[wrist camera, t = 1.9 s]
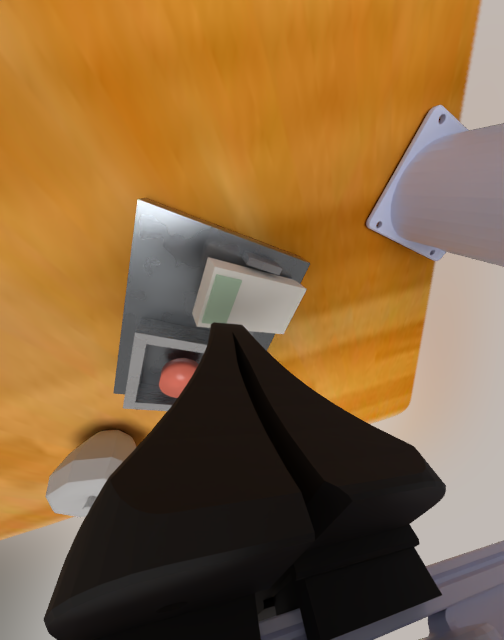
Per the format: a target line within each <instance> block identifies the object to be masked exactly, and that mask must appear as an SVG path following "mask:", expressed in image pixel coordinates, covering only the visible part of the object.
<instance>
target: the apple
mask: <svg viewBox="0 0 504 640" xmlns="http://www.w3.org/2000/svg"><path fill="white" fill-rule="evenodd" d="M135 448H136V445H135V442H134V440H133V438H132V437H131V436H130V435H128V434H126V433H124V432H122V431H120V430H106V431H100V432H98V433H96V434H95V435H93V436H92V437H90V438H89V439H88V440H86V441H85V442H83V443H82V444H81V445H80V446H78V447H77V448H76V449H75V450H73V451H72V452H71V453H70V454H69V455H68V456H67V457H66V458H65V459H64V460H63V462H62V463H61V464H60V465H59V466H58V467H57V468H56V470H55V471H54V472H53V473H52V474H51V475H50V478H49V483H48V488H47V492H46V498H47V500H48V502H49V504H50V506H51V508H52V510H53V511H54V512H55V513H59V514H64V515H70V516H76V517H85V516H87V514H88V512H89V510H90V508H91V506H92V505H93V503H94V501H95V499H96V498H97V496H98V494H99V493H100V491H101V489H102V488H103V486H104V484H105V483H106V481H107V479H108V478H109V476H110V475H111V474H112V473H113V472H114V471H115V470H116V469H117V468H118V467H119V466H120V464H121V463H122V462H123V461H124V460H125V459H126V458H127V457H128V456H129V455H130V454H131V453H132V452H133V451H134V450H135Z"/></svg>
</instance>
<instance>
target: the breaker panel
mask: <svg viewBox="0 0 504 640" xmlns="http://www.w3.org/2000/svg"><path fill="white" fill-rule="evenodd" d="M208 257H210V258H213V259H217V260H221V261H225V262H229V263H232V264H236V265H240V266H244V267H248V268H251V269H255V270H259V271H263V272H266V273H270V274H274V275H278V276H282V277H285V278H289V279H293V280H295V281H297V282H298V283H299V284H300V283H301V281H302V279H303V277H304V275H305V273H306V271H307V269H308V267H309V265H310V263H309V262H307V261H306V260H304V259H303V258H302V257H300V256H297V255H295V254H292V253H290V252H287V251H284V250H282V249H279V248H276V247H274V246H271V245H268V244H266V243H263V242H260V241H258V240H255V239H253V238H250V237H247V236H245V235H242V234H239V233H237V232H234V231H231V230H229V229H226V228H224V227H221V226H218V225H216V224H213V223H210V222H208V221H205V220H202V219H200V218H197V217H194V216H192V215H189V214H187V213H184V212H181V211H179V210H176V209H173V208H171V207H168V206H165V205H163V204H160V203H158V202H155V201H152V200H150V199H147V198H141V199H138V201H137V209H136V217H135V225H134V233H133V241H132V249H131V257H130V265H129V273H128V281H127V289H126V297H125V306H124V314H123V322H122V330H121V338H120V346H119V354H118V362H117V370H116V378H115V386H114V393H115V394H125V399H124V405H123V408H125V409H142V410H158V411H168V410H169V409H170V407H171V406H172V405H173V403H174V402H175V401H176V399H177V398H174V397H170V396H168V395H166V394H164V393H163V392H162V391H161V389H160V387H159V381H160V376H161V371H162V368H163V366H164V365H165V364H166V363H168V362H169V361H171V360H174V359H177V358H187V359H191V360H194V361H195V362H197V363H198V364H199V363H200V361H201V359H202V356H203V354H204V352H205V350H206V347H207V345H208V340H209V333H210V328H207V327H197V326H196V323H195V320H194V317H193V315H192V312H193V308H194V305H195V301H196V298H197V294H198V291H199V287H200V284H201V280H202V276H203V273H204V269H205V266H206V262H207V259H208ZM248 332H249V333H250V334H251V335H252V336H253V337H254V338H255V339H256V340H257V341H258V342H259V343H260V345H261V346H262V347H263V348H264V349H265V350H266V351H267V349H268V347H269V345H270V343H271V341H272V339H273V337H274V335H275V333H265V332H253V331H248Z"/></svg>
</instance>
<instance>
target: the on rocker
mask: <svg viewBox="0 0 504 640" xmlns="http://www.w3.org/2000/svg"><path fill="white" fill-rule="evenodd" d="M306 290H307V289H306V288H305V287H303V286H302V285H301V284H299V283H298V282H297V281H295V280H293V279H289V278H285V277H282V276H278V275H274V274H270V273H266V272H263V271H259V270H255V269H251V268H248V267H244V266H240V265H236V264H232V263H229V262H225V261H221V260H217V259H213V258H210V257H208V259H207V262H206V266H205V269H204V273H203V276H202V280H201V284H200V287H199V291H198V294H197V298H196V301H195V305H194V308H193V312H192V315H193V317H194V320H195V323H196V326H197V327H207V328H210V327H211V324H212V323H214V322H216V323H228V324H240V325H243V326H244V327H245V328H246V329H247V330H248V331H253V332H265V333H276V334H284V332H285V330H286V328H287V326H288V324H289V322H290V320H291V319H292V317H293V315H294V313H295V311H296V309H297V307H298V305H299V303H300V301H301V299H302V297H303V295H304V294H305V292H306Z"/></svg>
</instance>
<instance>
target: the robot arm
mask: <svg viewBox="0 0 504 640" xmlns="http://www.w3.org/2000/svg"><path fill="white" fill-rule="evenodd" d="M439 117H440V122H438V121H439ZM378 222H379V224H378V226H377V227H376V225H377V223H378ZM366 225H367V227H368V228H369V229H371V230H373V231H375V232H377V233H379V234H381V235H383V236H385V237H387V238H389V239H391V240H393V241H395V242H397V243H399V244H401V245H403V246H405V247H407V248H409V249H411V250H413V251H415V252H417V253H419V254H421V255H423V256H425V257H427V258H429V259H431V260H434V261H438V260H439V259H441V258H442V256H443V255H444V254H445V253H446V252H450V253H453V254H457V255H461V256H465V257H469V258H472V259H476V260H480V261H484V262H488V263H492V264H496V265H499V266H503V267H504V123H503V124H498V125H493V126H489V127H484V128H479V129H474V130H468V129H467V128H466V127H464V125H462V124H461V123H460V122H459V121H458V120H457V119H456V118H455V117H454V116H453V115H452V114H451V113H450V112H449V111H447V110H446V109H445V108H444V107H443V106H442V105H438V106H435V107H433V108H431V109H430V111H429V112H428V114H427V116H426V117H425V119H424V121H423V123H422V124H421V126H420V128H419V130H418V131H417V133H416V135H415V137H414V138H413V140H412V142H411V144H410V146H409V147H408V149H407V151H406V153H405V154H404V156H403V158H402V160H401V161H400V163H399V165H398V167H397V168H396V170H395V172H394V174H393V176H392V177H391V179H390V181H389V183H388V184H387V186H386V188H385V190H384V191H383V193H382V195H381V197H380V199H379V200H378V202H377V204H376V206H375V207H374V209H373V211H372V213H371V214H370V216H369V218H368V220H367V222H366ZM445 491H446V485H445V484H444V483H443V482H442V480H441V479H440V478H439V477H438V476H437V474H436V473H435V472H434V471H433V469H432V468H431V467H430V466H429V464H428V463H427V462H426V461H425V459H424V458H423V457H422V456H421V454H420V453H419V452H418V451H417V450H416V448H415V447H414V446H412V445H410V444H408V443H406V442H404V441H402V440H400V439H398V438H396V437H394V436H392V435H390V434H388V433H386V432H384V431H382V430H380V429H377V428H376V427H374V426H372V425H370V424H368V423H366V422H364V421H363V420H361V419H359V418H357V417H355V416H354V415H352V414H350V413H348V412H347V411H345V410H343V409H342V408H340V407H338V406H337V405H335V404H333V403H332V402H330V401H329V400H327V399H326V398H324V397H323V396H321V395H320V394H318V393H317V392H315V391H314V390H312V389H311V388H310V387H308V386H307V385H305V384H304V383H303V382H302V381H300V380H299V379H298V378H296V377H295V376H294V375H293V374H291V373H290V372H289V371H288V370H287V369H285V368H284V367H283V366H282V365H281V364H280V363H279V362H278V361H277V360H276V359H274V358H273V357H272V356H271V355H270V354H269V353H268V352H267V351H266V350H265V349H264V348H263V347H262V346H261V345H260V343H259V342H258V341H257V340H256V339H255V338H254V337H253V336H252V335H251V334H250V333H249V332H248V330H247V329H246V328H245V327H244V326H243V325H240V324H228V323H216V322H214V323H212V324H211V327H210V333H209V340H208V345H207V347H206V350H205V352H204V354H203V356H202V359H201V361H200V363H199V365H198V367H197V368H196V370H195V372H194V374H193V375H192V377H191V379H190V380H189V382H188V383H187V385H186V386H185V388H184V389H183V391H182V392H181V394H180V395H179V397H178V398H177V399H176V401H175V402H174V403H173V405H172V406H171V407H170V409H169V410H168V411H167V412H166V414H165V415H164V416H163V417H162V419H161V420H160V421H159V422H158V423H157V425H156V426H155V427H154V428H153V429H152V431H151V432H150V433H149V434H148V435H147V436H146V438H145V439H144V440H143V441H142V442H141V443H140V444H139V445H138V446H137V447H136V448H135V450H134V451H133V452H132V453H131V454H130V455H129V456H128V457H127V458H126V459H125V460H124V461H123V462H122V463H121V464H120V466H119V467H118V468H117V469H116V470H115V471H114V472H113V473H112V474H111V475H110V476H109V478H108V479H107V481H106V483H105V484H104V486H103V488H102V489H101V491H100V493H99V494H98V496H97V498H96V499H95V501H94V503H93V505H92V506H91V508H90V510H89V512H88V514H87V516H86V518H85V519H84V521H83V523H82V525H81V527H80V529H79V531H78V533H77V535H76V537H75V539H74V542H73V544H72V546H71V548H70V550H69V553H68V555H67V557H66V560H65V562H64V564H63V567H62V570H61V573H60V575H59V578H58V581H57V584H56V587H55V589H54V592H53V595H52V598H51V600H50V603H49V606H48V609H47V611H46V614H45V617H44V622H45V625H46V628H47V630H48V632H49V634H50V635H52V636H53V637H54V638H56V639H57V640H374V639H376V638H378V637H380V636H383V635H385V634H388V633H390V632H392V631H394V630H397V629H399V628H402V627H404V626H406V625H409V624H411V623H414V622H416V621H418V620H421V619H423V618H425V617H428V625H429V630H430V634H429V636H428V637H426V638H422V639H419V640H504V541H501V542H498V543H495V544H492V545H489V546H486V547H483V548H480V549H477V550H474V551H471V552H468V553H464V554H462V555H459V556H456V557H452V558H449V559H446V560H444V561H440V562H437V563H434V564H432V565H428V566H425V565H424V563H423V561H422V560H421V558H420V556H419V555H418V553H417V551H416V550H415V548H414V547H415V546H417V545H419V539H418V538H417V536H416V534H415V533H414V531H413V529H412V528H411V526H410V525H409V524H410V523H411V522H413V521H414V520H415V519H417V518H418V517H419V516H421V515H422V514H423V513H425V512H426V511H428V510H429V509H430V508H432V507H433V506H434V505H435V504H437V503H438V502H439V501H440V500H441V499H442V498H443V496H444V494H445Z"/></svg>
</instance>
